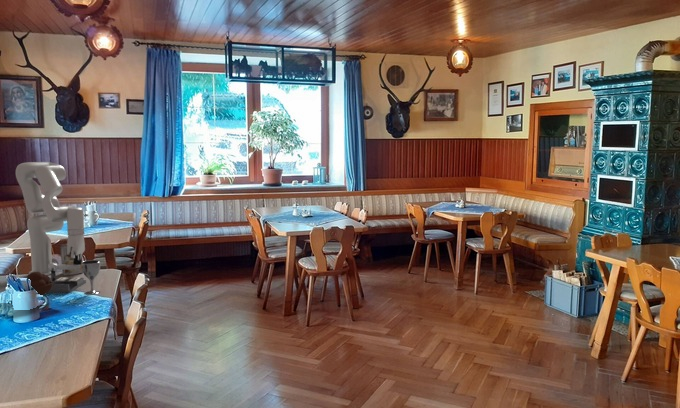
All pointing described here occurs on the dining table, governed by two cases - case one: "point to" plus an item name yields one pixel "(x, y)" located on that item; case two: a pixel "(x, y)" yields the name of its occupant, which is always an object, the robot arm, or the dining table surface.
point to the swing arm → (63, 267)
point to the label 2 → (74, 279)
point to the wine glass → (91, 273)
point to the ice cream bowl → (40, 282)
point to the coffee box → (67, 261)
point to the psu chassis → (64, 284)
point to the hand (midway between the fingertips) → (77, 267)
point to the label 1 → (61, 279)
